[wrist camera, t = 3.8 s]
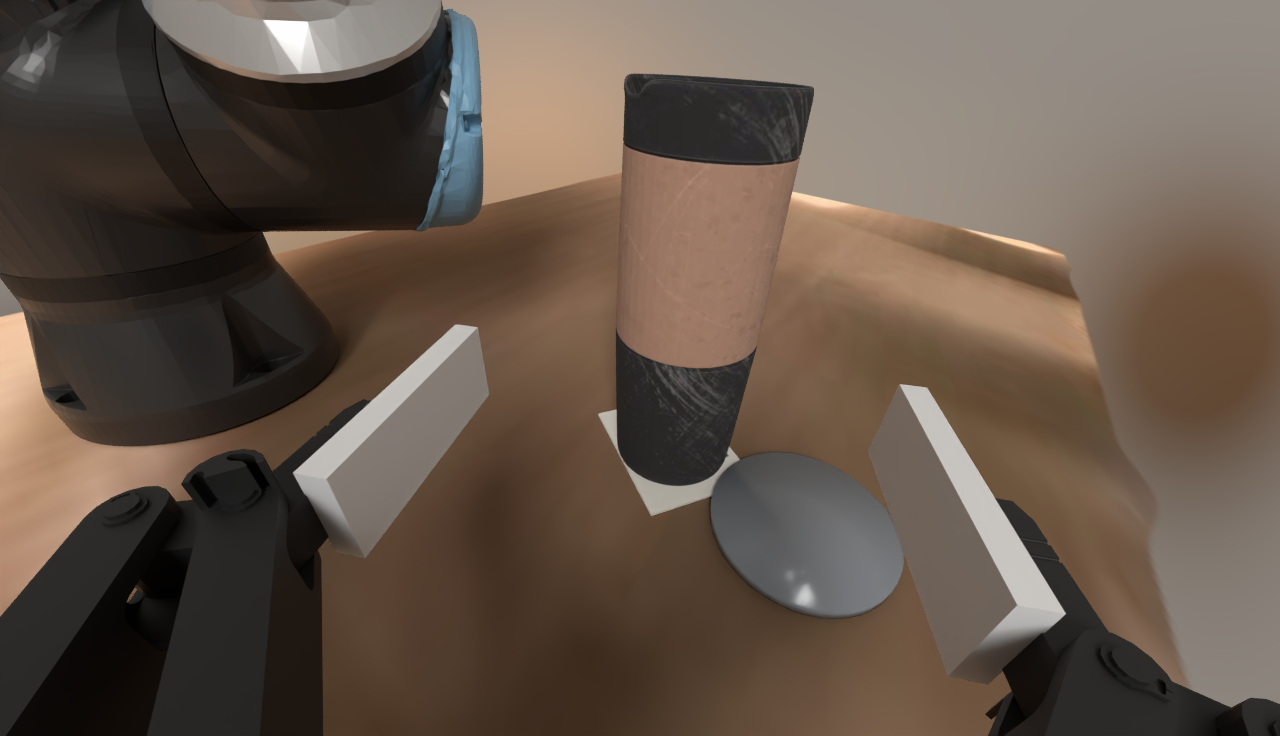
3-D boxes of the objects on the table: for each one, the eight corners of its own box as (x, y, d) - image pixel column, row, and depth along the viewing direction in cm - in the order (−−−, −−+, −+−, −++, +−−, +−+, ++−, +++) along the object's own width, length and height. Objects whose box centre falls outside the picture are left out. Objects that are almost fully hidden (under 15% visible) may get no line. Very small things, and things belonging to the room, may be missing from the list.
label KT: (598, 415, 31) (598, 413, 31) (686, 394, 34) (686, 393, 34) (650, 516, 25) (651, 514, 25) (755, 481, 27) (756, 479, 27)
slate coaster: (678, 483, 27) (679, 477, 26) (810, 443, 30) (812, 436, 30) (784, 654, 19) (788, 647, 19) (943, 574, 23) (948, 567, 22)
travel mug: (743, 428, 31) (828, 85, 20) (709, 509, 25) (802, 90, 14) (642, 394, 33) (666, 73, 22) (590, 462, 28) (586, 73, 16)
